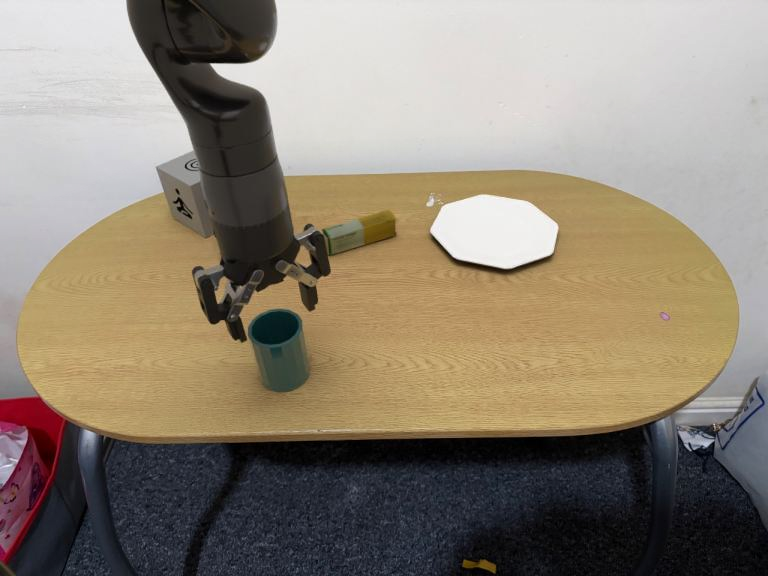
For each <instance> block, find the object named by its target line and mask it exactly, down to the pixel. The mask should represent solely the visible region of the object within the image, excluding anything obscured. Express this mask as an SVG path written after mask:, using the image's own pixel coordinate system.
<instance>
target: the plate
mask: <svg viewBox="0 0 768 576" xmlns="http://www.w3.org/2000/svg"><path fill="white" fill-rule="evenodd" d="M559 228H560V227H559V224H558V223H557V222H556V221H554V220H553V219H552V218H551V217H549V216H548V215H547V214H546V213H544V212H543V211H541V209H539V208H538V207H537V206H536V205H534V204H533V203H531V202H530V201H527V200H522V199H516V198H510V197H503V196H498V195H492V194H486V193H485V194H478V195H474V196H470V197H468V198H464V199H461V200H457V201H453V202H449V203H446V204H444V205H443V206H441V208H440V210H439V212H438V214H437V216H436V218H435V219H434V221H433V223H432V225H431V227H430V230H429V231H430V235H431V236H432V237H433V238H434V239H435V240H436V241H437V242H438V244H440V246H441V247H442V248H443V249H444V251H446V252H447V253H448V254H449V256H451V258H453V259H454V260H456V261H458V262H463V263H468V264H473V265H478V266H482V267H487V268H494V269H497V270H503V271H509V270H513V269H516V268H520V267H523V266H525V265H529V264H532V263H534V262H537V261H541V260H544V259H546V258H549V257H551V256H552V255H553V254H554V251H555V247H556V242H557V239H558V233H559Z"/></svg>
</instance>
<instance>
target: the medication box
mask: <svg viewBox="0 0 768 576" xmlns="http://www.w3.org/2000/svg"><path fill="white" fill-rule="evenodd" d="M396 221H397V218H396V216H395V215H394V213H393V211H391V209H386V210H382V211H380V212H376V213H372V214H370V215H366V216H362V217H359V218H356V219H352V220H349V221H345V222H342V223H339V224H335V225H332V226H329V227H328V226H327V227H325V228H322V229H321V233H322V234H323V235H324V239H325V244H326V249H327V254H328V257H330V256H333V255H336V254H339V253H341V252H345V251H349V250H352V249H355V248H359V247H362V246H365V245H368V244H371V243H374V242H378V241H381V240H384V239H388V238H391V237H394V236H396V235H397V233H396V223H397V222H396Z"/></svg>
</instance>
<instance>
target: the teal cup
mask: <svg viewBox="0 0 768 576" xmlns="http://www.w3.org/2000/svg"><path fill="white" fill-rule="evenodd" d="M250 321H251V322H250V323H249V325H248V326H247V339H248V342H249V345H250V349H251V352H252V353H251V354H252V356H253V359H254V363H255V366H256V367H255V368H256V369H257V370H256V371H257V374H258V377H259V378H260V382H261V384H262V385H263V386H264V387H265V388H266V389H268V390H269V391H272V392H276V393H286V392H291V391H294V390H297V389H298V388H300V387H301V386H302V385H304V383H306V381H307V380H308V378H309V377H310V374H311V363H310V356H309V352H308V351H309V350H308V346H307V345H308V344H307V340H306V334H305V328H304V324H303V319H302V318H301V317H300V315H299V314H298V313H297V312H295V311H293V310H291V309H287V308H273V309H268V310H266V311H262V312H261V313H259V314H258V315H256V316H255V317H254V318H253V319H252V320H250Z"/></svg>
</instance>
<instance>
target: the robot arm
mask: <svg viewBox="0 0 768 576" xmlns="http://www.w3.org/2000/svg"><path fill="white" fill-rule="evenodd" d="M125 1H126V3H125V5H126V13H127V17H128V21H129V25H130V28H131V30H132V33H133V35H134V38H135V40H136V42H137V44H138V46H139V48H140V50H141V52H142V53H143V55H144V57H145V58H146V60H147V62H148V63H149V65H150V67H151V68H152V70H153V71H154V73H155V75H156V76H157V78H158V80H159V81H160V83H161V84H162V86H163V88H164V90H165V91H166V92H167V94H168V96H169V99H170V100H171V101H172V104H173V105H174V106H175V108H176V110H177V111H178V113H179V115H180V117H181V119H182V120H183V121H184V124H185V126H186V129H187V132H188V136H189V140H190V144H191V146H192V149H193V150H194V154H195V157H196V160H197V164H198V168H199V173H200V180H201V187H202V191H203V195H204V203H205V206H206V208H207V210H208V212H209V215H210V219H211V222H212V225H213V229H214V232H215V235H216V237H215V238H216V242H217V246H218V248H219V253H220V260H219V264H217V265H214V266H211V267H209V268H206V269H205V268H204V267H203V266H201V265H196V266H195V267H193V268H192V269H191V274H192V278H193V283H194V287H195V290H196V294H197V297H198V301H199V304H200V309H201V311H202V313H203V314H204V316H205V318H206V319H207V320H208V322H209V324H210V325H215V326H216V325H217V324H219V323H220V322H221V321H224V323H225V326H226V329H227V332H228V333H229V335H230V336H231V339H233V340H234V341H235V342H237V341H239V342H240V344H243V343H245V342H247V341H248V336H247V334H246V330H245V327H244V324H243V320H242V318H241V316H240V315H241V313H242V311H243V308H244V307H245V306H247V305H248V304H249V303H250V301H251V299H252V297H253V295H254V293H255V292H256V293H259V292H261V291H263V290H265V289H268V287H270V286H273V285H278V284H280V283H283V282H284V281H285V278H286V277H287V276H288V277H290V278H291V279H293V280H295V281H297V283H298V284H297V285H298V288H299V294H300V299H301V304H302V305H303V306H304V307H305V308H306V310H307V311H308V312H309V313H310V312H312V311H315V310H316V305H318V303H319V296H318V288H317V285H318V280H320V278H322V277H324V278H326V277H329V275H331V272H332V269H331V264H330V259H329V256H328V254H327V249H326V244H325V239H324V235H323V233H322V231H320V229H318V228H317V227H316V226H315V225H314V224H312V223H307V224H305V225H304V226H303V231H302V232H299V233H297V234H295V232H294V224H293V219H292V213H291V207H290V203H289V202H290V201H289V196H288V191H287V186H286V185H287V184H286V180H285V175H284V170H283V168H282V165H281V162H280V159H279V156H278V155H279V154H278V151H277V145H276V140H275V139H276V138H275V134H274V128H273V123H272V116H271V112H270V107H269V104H268V101H267V99H266V97H265V96H264V94H263V93H262V92H261V91H260V90H258V89H256V88H254V87H253V86H249V85H246V84H244V83H240V82H236V81H233V80H231V79H228V78H226V77H224V76H222V75H220V74H219V73H218V72H217V71H216V69H215V68H214V67H213V66H212V65H213V64H217V65H219V64H220V65H225V64H226V65H246V64H252V63H255V62H257V61H260V59H262V58H264V57H265V56H266V55H268V52H269V51H270V50H271V48H272V46H273V45H274V43H275V40H276V37H277V32H278V24H279V20H278V18H279V17H278V10H277V9H278V8H277V4H276V3H277V2H276V0H125ZM193 150H192V151H193ZM301 247H304V249H306V250H307V251H308V254H309V259H310V264H309V265H308V266H304V265H303V264H302V263H300V262H299V261H297V260H296V259H297V257H298V255H299V253H300V250H301ZM222 278H226V280H227V281H226V283H225V287H224V289H225V290H224V291H225V292H224V294H223V296H222V297H221V300H220V302H219V303H218V300H217V296H216V292H217V291H219V287H220V281H221V280H222ZM0 576H19V574H17V573H16V572H15V571H14V570H13V569H12V568H11V567H10V566H9V565H8V564H6V563H5V562H4V561H3V560H2V559H1V558H0Z"/></svg>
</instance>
